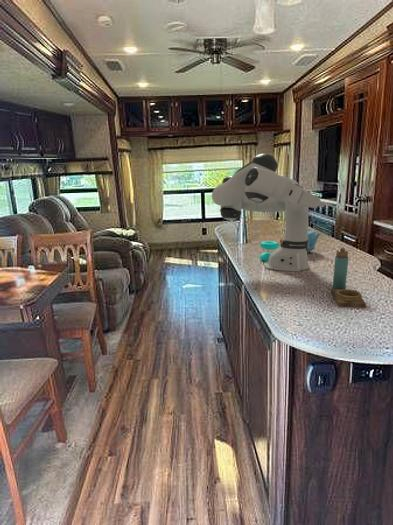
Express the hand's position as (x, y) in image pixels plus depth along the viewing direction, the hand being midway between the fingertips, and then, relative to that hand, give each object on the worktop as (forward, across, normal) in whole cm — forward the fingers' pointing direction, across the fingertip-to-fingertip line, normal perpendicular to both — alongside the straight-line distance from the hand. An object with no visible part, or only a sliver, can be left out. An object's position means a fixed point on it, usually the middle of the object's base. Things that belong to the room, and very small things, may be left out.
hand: (317, 202), depth 136 cm
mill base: (+20, +17, -29) cm, 39 cm away
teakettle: (+40, -60, -34) cm, 80 cm away
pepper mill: (+24, +5, -30) cm, 38 cm away
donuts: (+16, -47, -41) cm, 65 cm away
